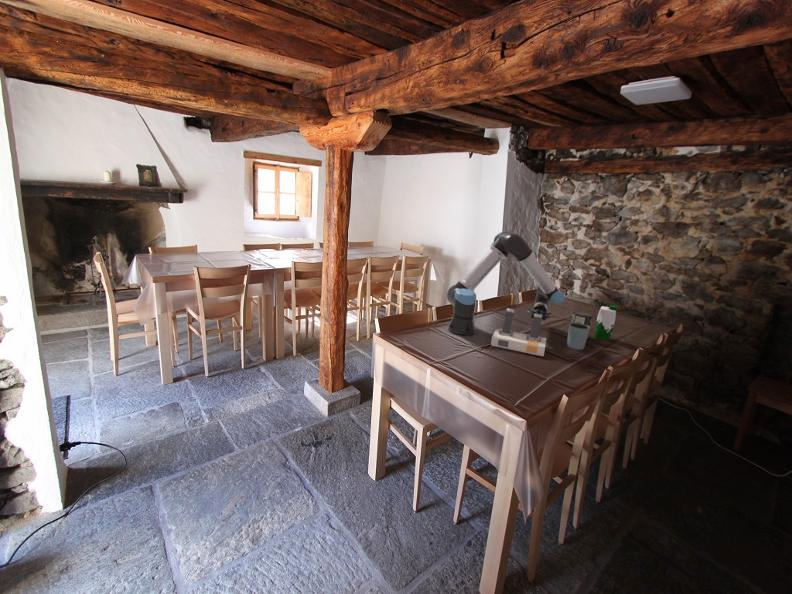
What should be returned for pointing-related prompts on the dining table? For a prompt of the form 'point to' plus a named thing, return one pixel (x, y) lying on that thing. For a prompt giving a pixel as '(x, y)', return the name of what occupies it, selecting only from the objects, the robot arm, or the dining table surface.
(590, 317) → the coffee can
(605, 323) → the milk carton
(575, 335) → the drinking glass
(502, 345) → the console
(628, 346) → the dining table surface
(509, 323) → the left paddle
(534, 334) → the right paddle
